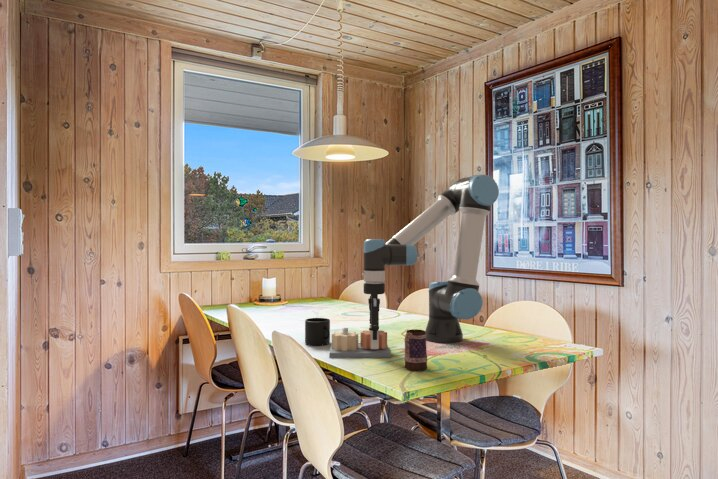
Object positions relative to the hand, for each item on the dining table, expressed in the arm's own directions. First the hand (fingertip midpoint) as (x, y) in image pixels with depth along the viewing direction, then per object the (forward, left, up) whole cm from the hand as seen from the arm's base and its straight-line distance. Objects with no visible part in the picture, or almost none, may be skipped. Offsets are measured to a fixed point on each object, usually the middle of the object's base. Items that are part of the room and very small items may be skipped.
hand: (373, 345), depth 177 cm
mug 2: (-11, +23, -2) cm, 26 cm away
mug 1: (+20, -13, -2) cm, 24 cm away
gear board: (+5, 0, -2) cm, 6 cm away
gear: (0, 0, 0) cm, 0 cm away
